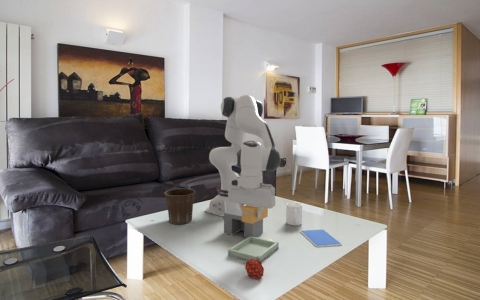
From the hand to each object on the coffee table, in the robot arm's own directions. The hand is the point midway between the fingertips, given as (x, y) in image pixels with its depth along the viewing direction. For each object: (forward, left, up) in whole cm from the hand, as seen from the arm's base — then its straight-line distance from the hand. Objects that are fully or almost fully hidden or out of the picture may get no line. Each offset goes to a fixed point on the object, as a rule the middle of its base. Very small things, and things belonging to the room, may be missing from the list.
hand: (251, 215), depth 130 cm
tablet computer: (+19, +33, -17) cm, 41 cm away
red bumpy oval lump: (+10, -15, -16) cm, 24 cm away
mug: (+1, +45, -16) cm, 48 cm away
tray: (0, +3, -16) cm, 16 cm away
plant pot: (-53, +17, -16) cm, 58 cm away
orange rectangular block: (0, +3, -2) cm, 4 cm away
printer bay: (-15, +20, -16) cm, 29 cm away
